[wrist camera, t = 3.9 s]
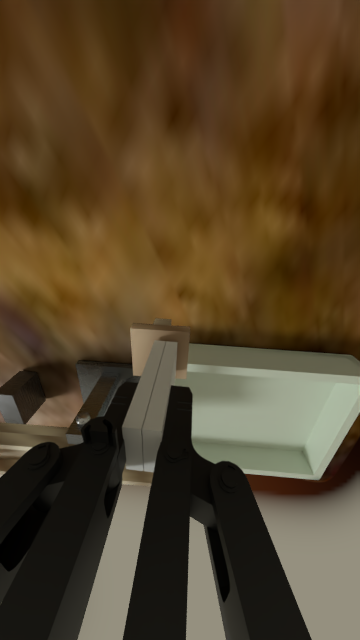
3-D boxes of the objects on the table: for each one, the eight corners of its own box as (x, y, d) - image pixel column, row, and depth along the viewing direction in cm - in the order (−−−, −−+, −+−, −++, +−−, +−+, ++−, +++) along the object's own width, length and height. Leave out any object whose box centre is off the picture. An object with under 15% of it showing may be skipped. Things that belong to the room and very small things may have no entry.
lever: (-14, 445, 24) (-43, 477, 21) (-95, 299, 16) (-161, 316, 13) (179, 460, 23) (177, 495, 20) (190, 317, 16) (190, 339, 13)
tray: (151, 437, 32) (146, 464, 29) (150, 340, 25) (142, 360, 21) (304, 450, 32) (318, 480, 28) (351, 355, 24) (379, 378, 20)
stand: (34, 411, 31) (-25, 480, 23) (14, 355, 27) (-69, 415, 18) (148, 420, 31) (131, 495, 22) (146, 365, 26) (124, 432, 18)
